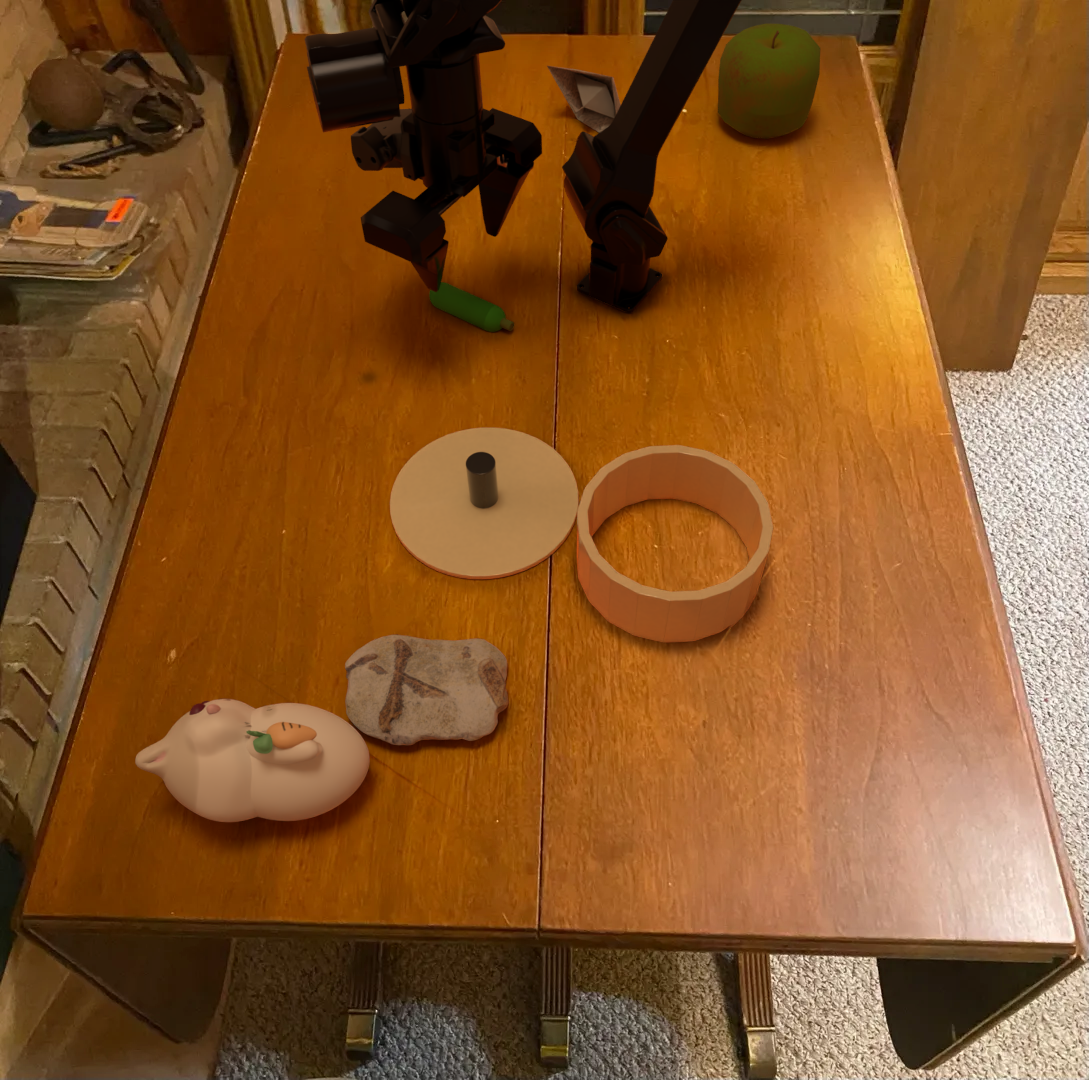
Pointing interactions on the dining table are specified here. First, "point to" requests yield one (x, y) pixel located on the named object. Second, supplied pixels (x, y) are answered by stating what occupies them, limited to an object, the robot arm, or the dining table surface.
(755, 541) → the pot
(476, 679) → the stone
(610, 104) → the paper boat
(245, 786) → the bunny figurine
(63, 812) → the dining table surface
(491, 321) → the green zucchini
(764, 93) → the apple
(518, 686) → the dining table surface
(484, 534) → the pot lid
